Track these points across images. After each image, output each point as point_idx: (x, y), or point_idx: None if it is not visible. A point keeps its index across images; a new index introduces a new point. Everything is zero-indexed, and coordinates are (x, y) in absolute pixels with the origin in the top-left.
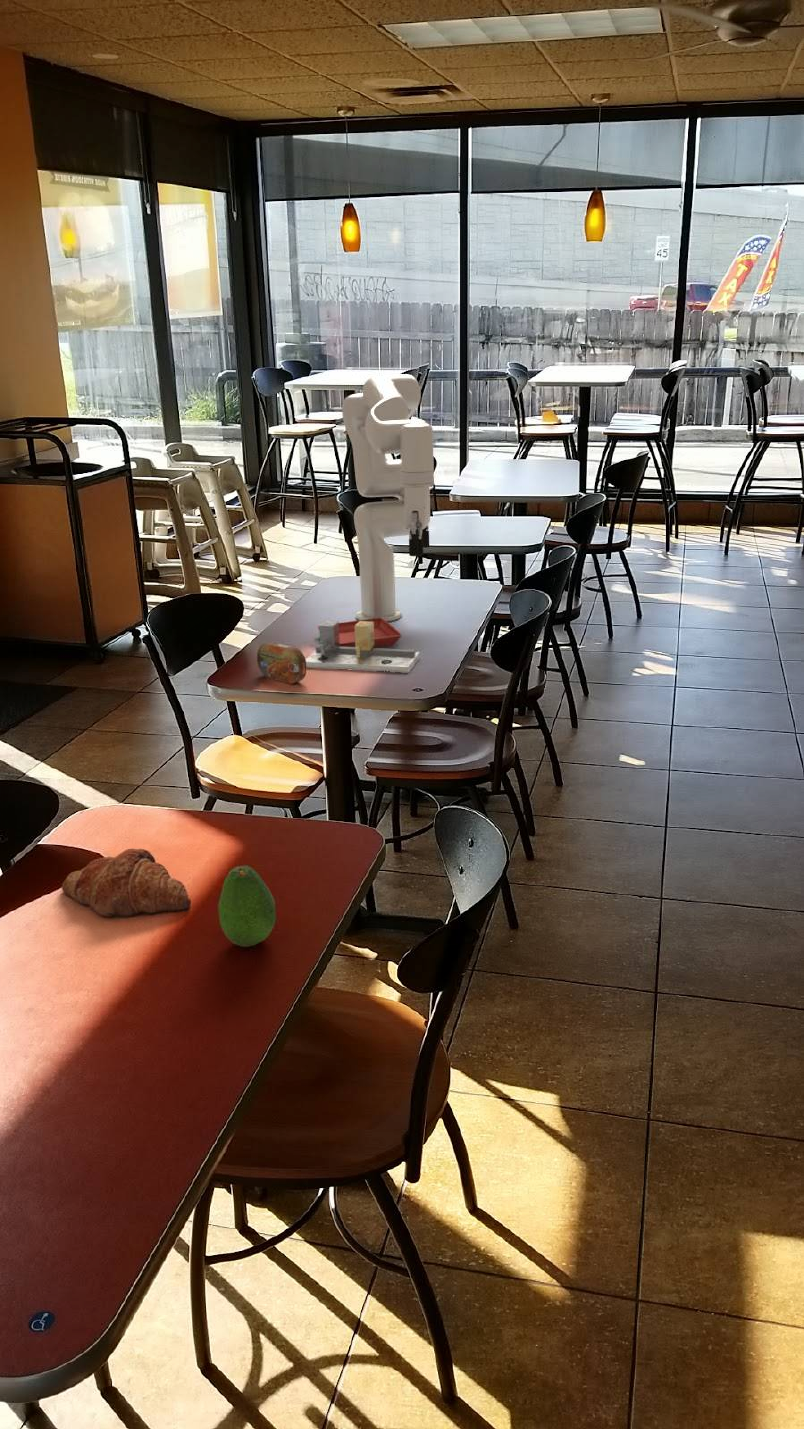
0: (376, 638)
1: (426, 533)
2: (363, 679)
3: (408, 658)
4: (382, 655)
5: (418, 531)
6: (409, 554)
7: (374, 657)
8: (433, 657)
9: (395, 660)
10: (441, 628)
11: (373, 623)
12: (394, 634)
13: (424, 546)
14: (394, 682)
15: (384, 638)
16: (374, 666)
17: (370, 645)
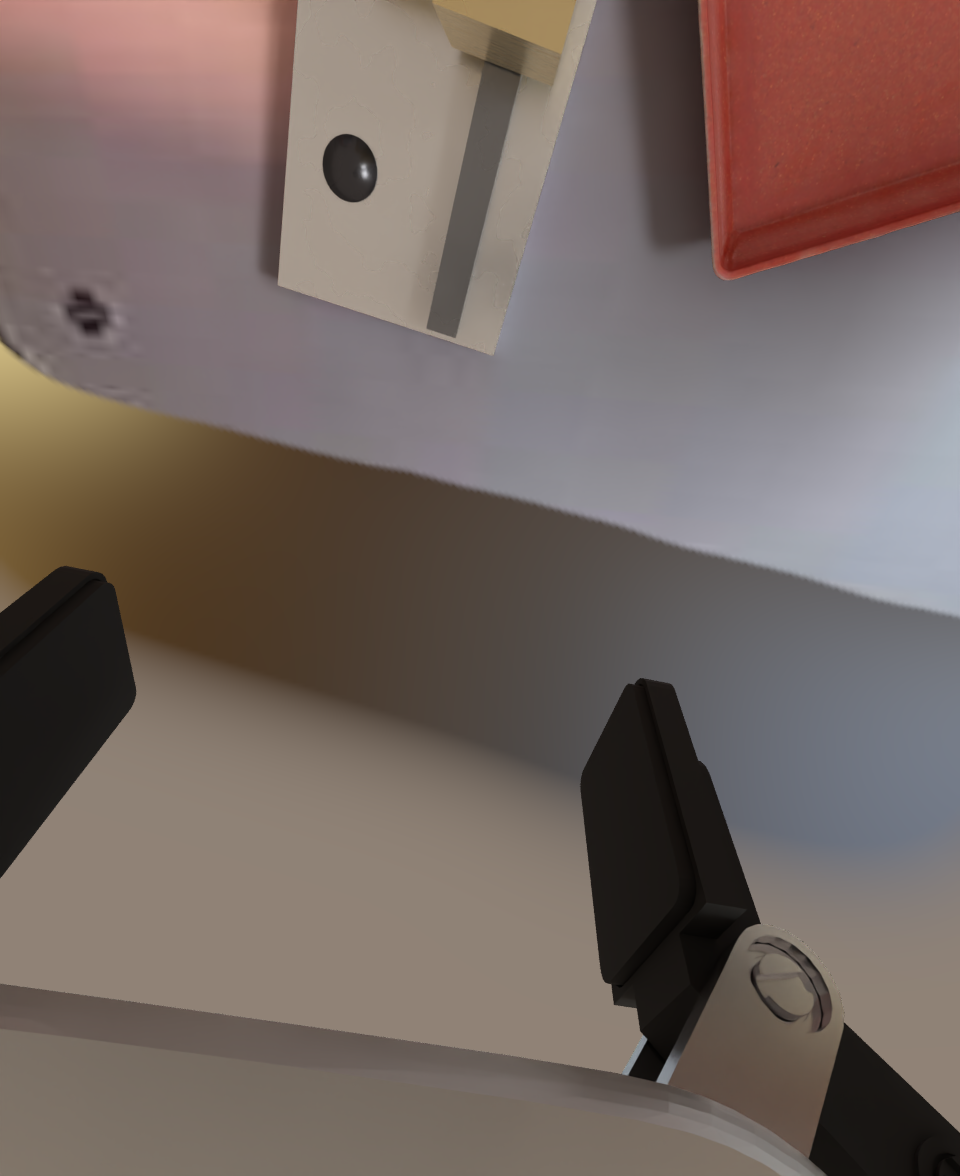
0: (705, 104)
1: (606, 945)
2: (170, 13)
3: (403, 295)
4: (462, 145)
5: (665, 919)
6: (53, 571)
7: (429, 88)
8: (495, 408)
9: (374, 223)
10: (895, 475)
11: (555, 54)
12: (809, 235)
13: (595, 754)
14: (157, 206)
15: (707, 164)
16: (294, 88)
17: (468, 48)
